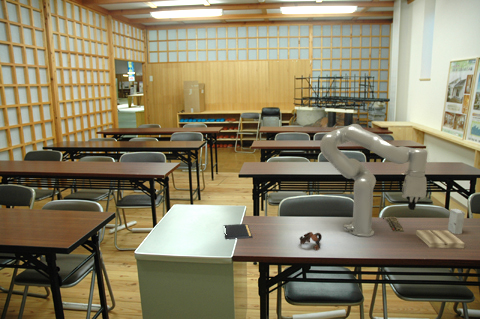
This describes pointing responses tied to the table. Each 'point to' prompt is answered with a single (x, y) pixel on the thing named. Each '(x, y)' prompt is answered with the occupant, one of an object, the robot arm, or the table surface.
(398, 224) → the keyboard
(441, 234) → the laid board
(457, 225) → the skincare box
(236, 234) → the wallet
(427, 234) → the plank
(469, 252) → the table surface
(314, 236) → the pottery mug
